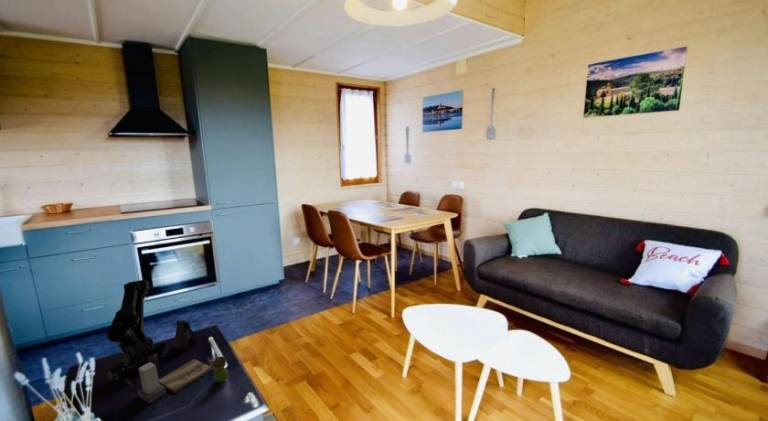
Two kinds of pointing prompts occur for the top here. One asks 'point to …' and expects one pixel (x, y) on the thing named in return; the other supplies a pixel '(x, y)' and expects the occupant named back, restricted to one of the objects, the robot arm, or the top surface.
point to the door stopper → (180, 336)
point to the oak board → (184, 375)
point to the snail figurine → (219, 369)
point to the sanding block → (150, 383)
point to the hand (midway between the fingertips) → (149, 379)
